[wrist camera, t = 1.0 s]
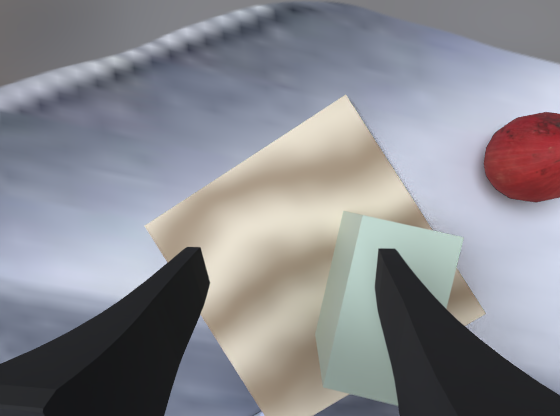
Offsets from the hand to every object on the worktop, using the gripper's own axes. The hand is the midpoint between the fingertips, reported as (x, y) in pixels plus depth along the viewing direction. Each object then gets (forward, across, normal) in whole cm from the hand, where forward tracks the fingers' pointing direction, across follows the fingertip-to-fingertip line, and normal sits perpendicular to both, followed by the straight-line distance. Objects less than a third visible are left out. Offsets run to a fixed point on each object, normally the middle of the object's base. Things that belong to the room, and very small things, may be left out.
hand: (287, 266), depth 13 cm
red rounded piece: (+15, -15, +3) cm, 22 cm away
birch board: (+10, 0, +9) cm, 13 cm away
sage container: (+9, -4, +9) cm, 14 cm away
